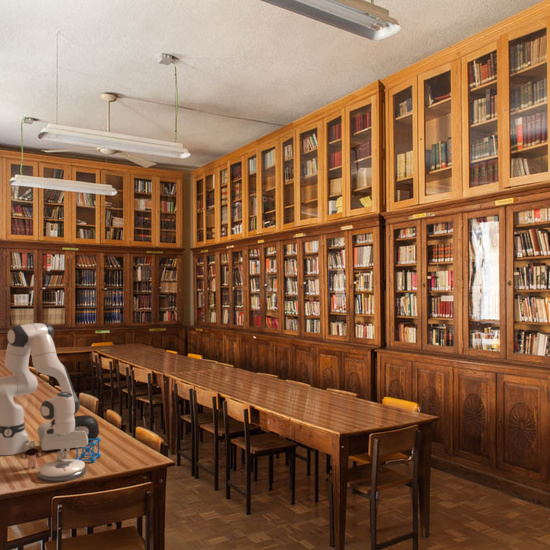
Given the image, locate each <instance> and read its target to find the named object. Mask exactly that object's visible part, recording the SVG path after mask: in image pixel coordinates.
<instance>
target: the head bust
mask: <svg viewBox="0 0 550 550" xmlns="http://www.w3.org/2000/svg"><path fill="white" fill-rule="evenodd" d="M74 418H75V427H83V426H85V427H87V428H88V430H89V433H88V435H87V436H88V439H96V438H97V437H99V435H100V428H99V427H100V426H99V422H98V421H97V419H96V418H95V417H94V416H92V415H87V414H85V415H74ZM51 420H52V421H46V422H44V423H41V424H40V425H38V427H37V430H36V431H37V436H38V439H39V441H38V443H39V444H38V445H39V447H40V449H41V450H42V451H43V453H45V452H46V453H50V452H53V451H54V452H55V451H56V450H57V449H53V450H43V449H42V438H43V436H44V435H45V434H44V431H45V429H46V428H47V427H49V426H52V425H55V419H51ZM85 429H86V428H85ZM91 442H95V440H88V443H91Z"/></svg>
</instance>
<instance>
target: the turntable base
mask: <svg viewBox="0 0 550 550" xmlns="http://www.w3.org/2000/svg"><path fill="white" fill-rule="evenodd" d="M86 472H87V467H86V465H85V468H84V469H83V470H82V471H80V472H78V473H75V474H72V475H67V476H60V477H48V476H43V475H41V474H40V472H39V471H38V473H37V475H38V476H37V478H38V480H40V481H42V482H45V483H62V482H63V483H64V482H68V481H73V480H76V479H79V478H81V477H82V476H84V475H85V474H86Z"/></svg>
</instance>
